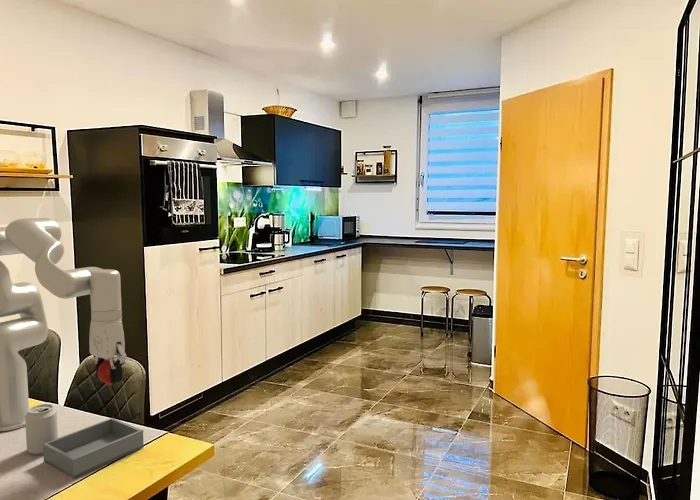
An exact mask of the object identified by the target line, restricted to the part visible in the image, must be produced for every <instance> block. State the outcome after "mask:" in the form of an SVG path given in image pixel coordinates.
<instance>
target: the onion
mask: <svg viewBox="0 0 700 500" xmlns="http://www.w3.org/2000/svg"><path fill="white" fill-rule="evenodd" d="M114 362H116V360H114ZM110 369H112V368H111V364H110V360H105V361H104V362H103V363H102V364H101V365H100V366H99V368H98V378H99V379H98V378H97V379H98V380H99V381H101V382H102V383H105V385H107V386H112V385H113V384H112V383H111V382H110Z"/></svg>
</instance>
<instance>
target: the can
mask: <svg viewBox="0 0 700 500" xmlns="http://www.w3.org/2000/svg"><path fill="white" fill-rule="evenodd" d="M27 412H28V413H27V414H26V415H25V425H26V426H25V440H26V452H28V453H30V454H31V455H35V456H36V455H37V456H38V455H43V444H44V443H46V442H49V441H52V440H54V439H57V438H59V434H58V433H59V432H58V430H59V429H58V414H57V413H58V412H57V409H56V408H54V405H53V404H50V403H41V404H37V405H34V406H31V407H29V409H28V410H27Z"/></svg>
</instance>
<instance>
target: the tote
mask: <svg viewBox="0 0 700 500" xmlns="http://www.w3.org/2000/svg"><path fill="white" fill-rule="evenodd" d="M143 448H144V430H143V429H140V428H137V427H135V426H133V425H131V424H129V423H126V422H123V421H121V420H119V419H116V418H114V417H110V418H108V419H105V420H102V421H100V422H97V423H95V424H92V425H89V426H87V427H84V428H82V429H79V430H76V431H73V432H71V433H68V434H65V435H63V436H60V437H58V438H57V439H54V440H52V441H49V442H46V443H44V444H43V454H42V455H43V463H45V464H47V465H48V466H50V467H52V468H53V469H55V470H57V471H59V472H61V473H62V474H64V475H66V476H68V477H69V478H71V479H73V480H75V479H77V478H80V477H82V476H83V475H86V474H89V473H91V472H92V471H95V470H97V469H100V468H102V467H104V466H106V465H108V464H110V463H113V462H115V461H117V460H119V459H122V458H125V456H128V455H131V454H133V453H135V452H137V451H140V450H142V449H143Z"/></svg>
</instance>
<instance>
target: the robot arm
mask: <svg viewBox="0 0 700 500" xmlns="http://www.w3.org/2000/svg"><path fill="white" fill-rule="evenodd" d="M61 237H62V230H61V227H60V225H59V224H58V223H57V222H56V221H55V220H54V219H51V218H47V217H37V218H36V217H35V218H19V219H15V220H13V221H10V222H9V224H8V225H7V226H0V256H10V255H11V256H12V255H19V254H20V255H22V254H23V255H25V256H26V257H27V258H28V259H29V260H31V261H32V262H33V263H34V272H35V273H34V274H35V276H36V278H37V280H38V283H39V284H40V285H41V286H42V287H43V288H44V289H46V290H47V291H48V292H49V293H50V294H52V295H54V296H55V297H57V298H59V299H65V300H67V299H71V298H76V297H77V298H78V297H81V296H88V295H90V309H91V310H90V314H91V317H90V318H91V320H90V325H89V335H88V336H89V337H88V338H89V340H88V343H89V354H90V355H92V356H93V358H94V364H95V374H96V375H95V376H96V379H98V380H100V379H99V378H98V368H99V366H100V365H101V364H102V363H103V362H104V361H105V360H110V364H111V368H112V369H110V382H111V383H112V385H113V384H117V383H119V382H121V381H123V367H124V364H125V361H126V360H127V359H128V356H127V353H126V352H125V350H126V349H125V348H126V345H125V344H126V342H125V332H124V328H123V327H124V325H123V320H122V319H123V315H122V314H123V311H122V290H121V289H122V285H121V284H122V283H121V282H122V281H121V273H120V272H119V271H118V270H116V269H110V268H109V269H107V268H106V269H104V268H101V267H97V266H86V267H80V268H72V269H66V270H64V269H61V268H60V267H59V266H58V265H56V264H58V263H60V261H61V260H62V258H63V256H64V253H65V247H64V245H63V243H62V242H60V239H61ZM11 279H12V278H11V273H10V270H9V268H8V267H7V266H6V264H5V263H4V262H3V261H1V260H0V318H7V317H10V316H15V315H19V316H20V317H19V318H15V319H10V320H5V321H1V322H0V432H7V431H15V430H17V429H21V428H24V427H26V425H25V415H26V414H27V413H28V412H27V410H28V409H29V408H30V404H29V386H28V385H29V384H28V370H27V367H28V366H27V363H26V362H27V361H25V359H24V358H23V357H22V356H21V354H19V351H22V350H25V349H28V348H31V347H34V346H37V345H41V344H42V343H44V342H45V341H46V340H47V338H48V335H49V334H48V333H49V329H48V328H49V327H48V322H47V318H46V313H45V309H44V308H45V307H44V304H43V299H42V295H41V293H40V291H39V289H38V288H37V287H36V286H35V284H32V283H31V282H17V283H16V282H15V283H13V282H12V280H11ZM114 361H115V362H114Z"/></svg>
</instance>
